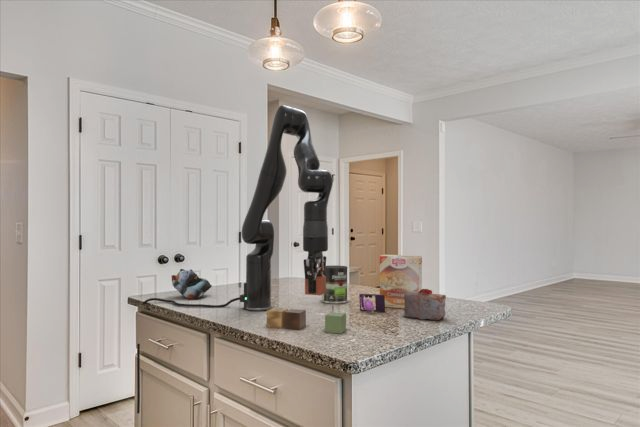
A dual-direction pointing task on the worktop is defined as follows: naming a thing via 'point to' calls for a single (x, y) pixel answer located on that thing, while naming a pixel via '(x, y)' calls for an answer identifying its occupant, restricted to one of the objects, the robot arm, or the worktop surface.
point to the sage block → (335, 322)
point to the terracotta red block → (317, 286)
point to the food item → (424, 305)
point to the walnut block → (295, 319)
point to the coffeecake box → (399, 278)
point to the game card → (368, 304)
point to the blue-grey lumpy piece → (190, 284)
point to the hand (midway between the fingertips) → (315, 291)
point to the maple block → (276, 317)
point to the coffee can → (335, 285)
